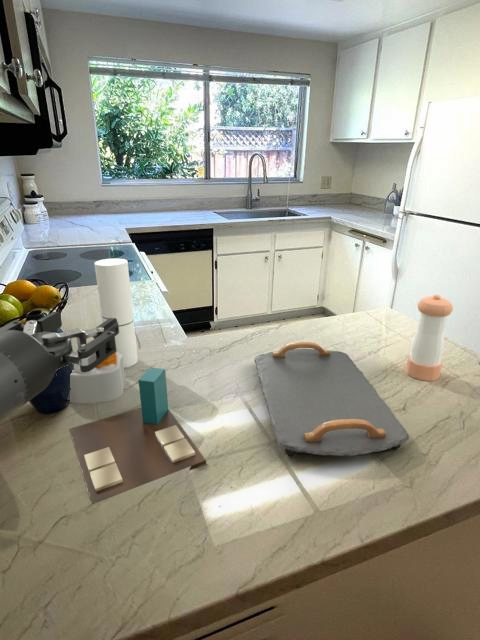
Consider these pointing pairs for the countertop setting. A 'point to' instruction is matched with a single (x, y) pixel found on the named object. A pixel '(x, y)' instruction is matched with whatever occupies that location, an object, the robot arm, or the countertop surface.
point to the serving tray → (324, 403)
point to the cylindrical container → (117, 304)
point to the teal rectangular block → (153, 395)
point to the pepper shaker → (429, 339)
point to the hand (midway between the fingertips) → (86, 321)
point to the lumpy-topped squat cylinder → (97, 383)
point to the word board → (131, 452)
